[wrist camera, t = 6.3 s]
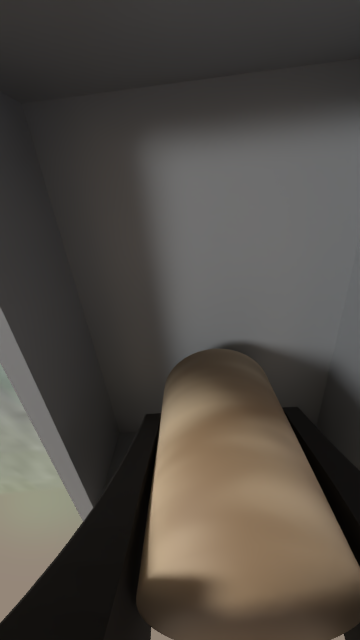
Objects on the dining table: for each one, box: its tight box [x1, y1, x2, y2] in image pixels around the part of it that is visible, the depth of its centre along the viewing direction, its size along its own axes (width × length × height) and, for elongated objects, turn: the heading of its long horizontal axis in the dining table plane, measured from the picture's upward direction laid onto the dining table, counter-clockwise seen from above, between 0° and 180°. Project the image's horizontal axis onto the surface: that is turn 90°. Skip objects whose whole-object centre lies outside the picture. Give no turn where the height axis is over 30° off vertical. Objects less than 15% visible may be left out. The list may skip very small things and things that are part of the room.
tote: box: [0, 0, 360, 521], centre depth 10 cm, size 14×18×5 cm
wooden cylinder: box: [136, 349, 360, 640], centre depth 9 cm, size 5×5×7 cm
